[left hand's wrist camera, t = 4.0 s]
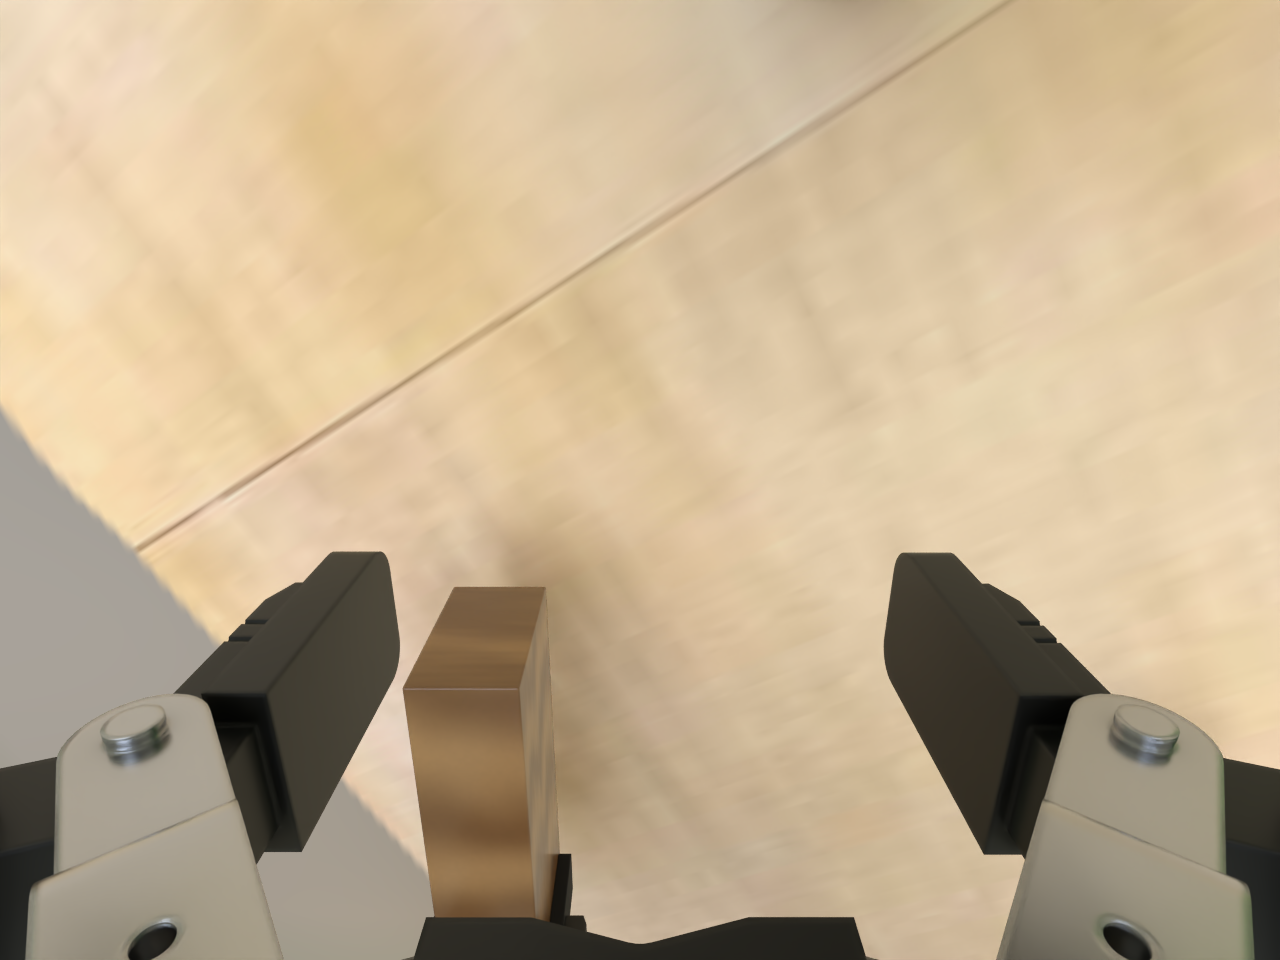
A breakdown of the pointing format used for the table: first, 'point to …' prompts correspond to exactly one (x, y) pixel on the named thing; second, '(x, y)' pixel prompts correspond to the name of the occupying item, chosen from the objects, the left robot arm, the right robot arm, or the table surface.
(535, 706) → the bar
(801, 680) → the table surface
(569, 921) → the right robot arm
